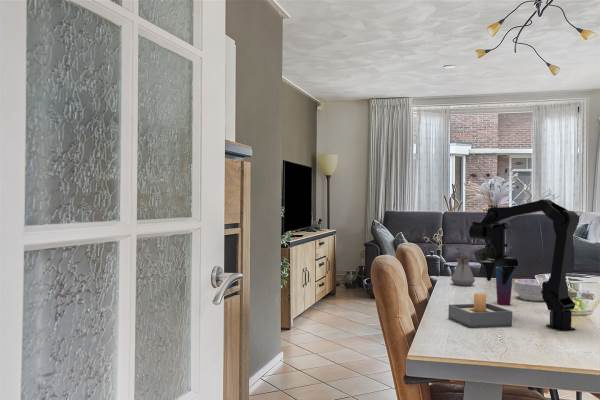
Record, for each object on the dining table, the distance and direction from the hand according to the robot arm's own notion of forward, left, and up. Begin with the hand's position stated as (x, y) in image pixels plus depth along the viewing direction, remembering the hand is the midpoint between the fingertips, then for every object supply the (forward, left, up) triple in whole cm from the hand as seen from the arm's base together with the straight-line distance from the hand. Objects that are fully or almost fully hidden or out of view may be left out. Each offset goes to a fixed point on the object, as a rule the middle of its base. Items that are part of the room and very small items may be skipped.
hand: (496, 282), depth 197 cm
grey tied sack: (+62, -23, -12) cm, 67 cm away
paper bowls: (+26, -36, -12) cm, 46 cm away
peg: (-10, +13, -11) cm, 20 cm away
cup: (+18, -16, -12) cm, 27 cm away
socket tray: (-10, +13, -12) cm, 20 cm away
